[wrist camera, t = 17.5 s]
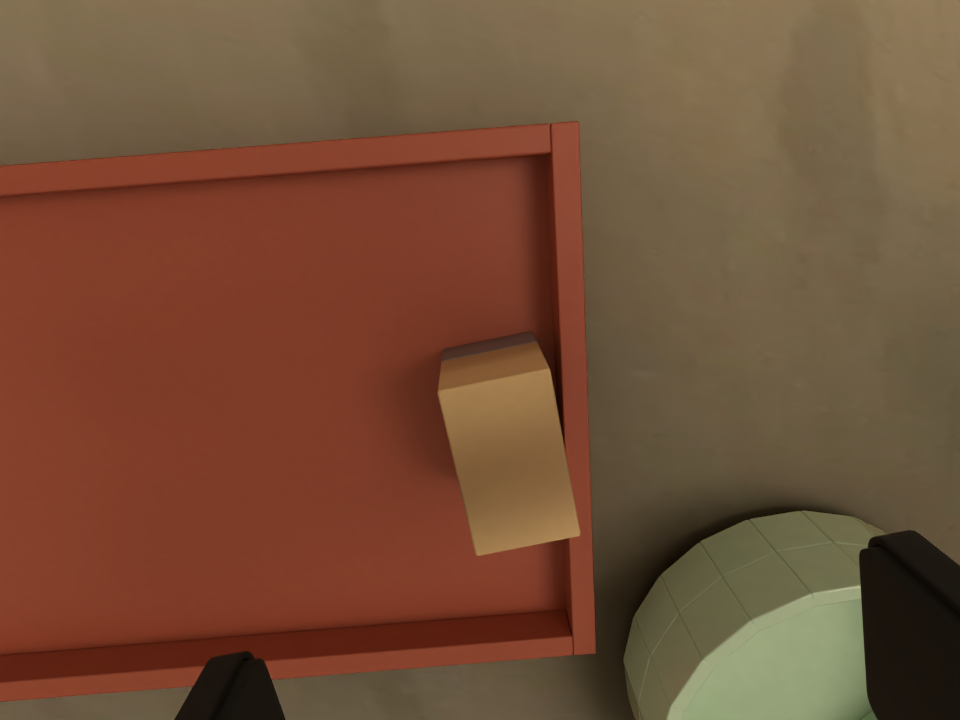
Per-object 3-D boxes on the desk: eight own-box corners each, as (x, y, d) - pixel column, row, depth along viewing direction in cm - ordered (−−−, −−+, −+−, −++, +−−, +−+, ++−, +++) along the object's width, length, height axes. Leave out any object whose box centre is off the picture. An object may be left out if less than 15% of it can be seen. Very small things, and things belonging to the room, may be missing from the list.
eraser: (442, 348, 21) (436, 391, 17) (531, 330, 21) (550, 368, 17) (473, 485, 22) (476, 557, 18) (558, 468, 22) (581, 537, 18)
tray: (567, 127, 20) (579, 120, 18) (585, 615, 25) (596, 653, 23) (-524, 211, 20) (-637, 214, 18) (-299, 686, 24) (-368, 732, 22)
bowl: (800, 439, 23) (890, 507, 18) (988, 636, 25) (1112, 743, 20) (557, 648, 25) (579, 759, 20) (752, 812, 27) (814, 947, 23)
